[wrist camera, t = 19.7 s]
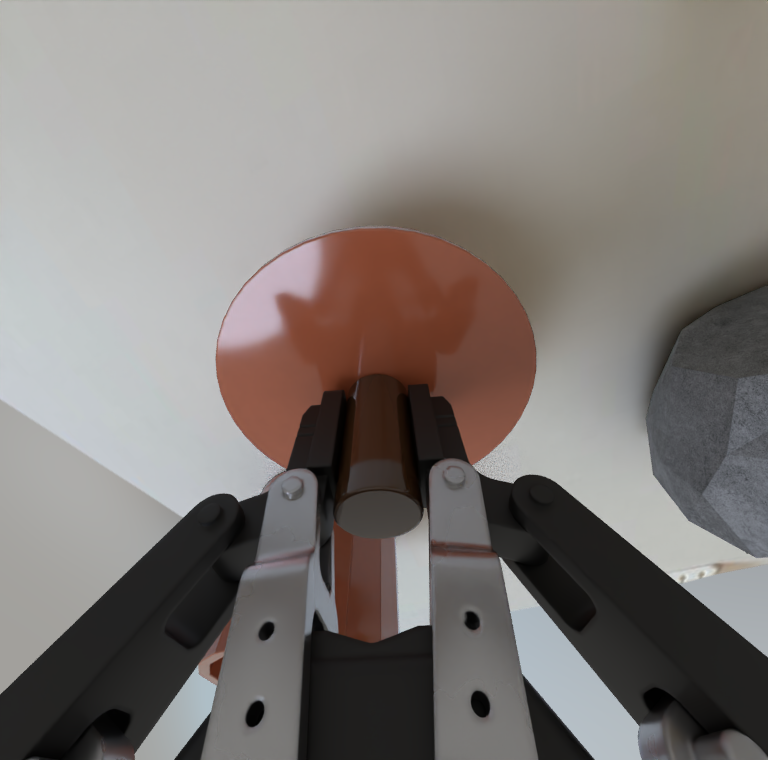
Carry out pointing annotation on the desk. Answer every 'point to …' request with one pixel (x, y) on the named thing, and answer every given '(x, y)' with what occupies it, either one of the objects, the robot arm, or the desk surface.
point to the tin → (346, 593)
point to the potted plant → (717, 422)
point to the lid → (375, 358)
